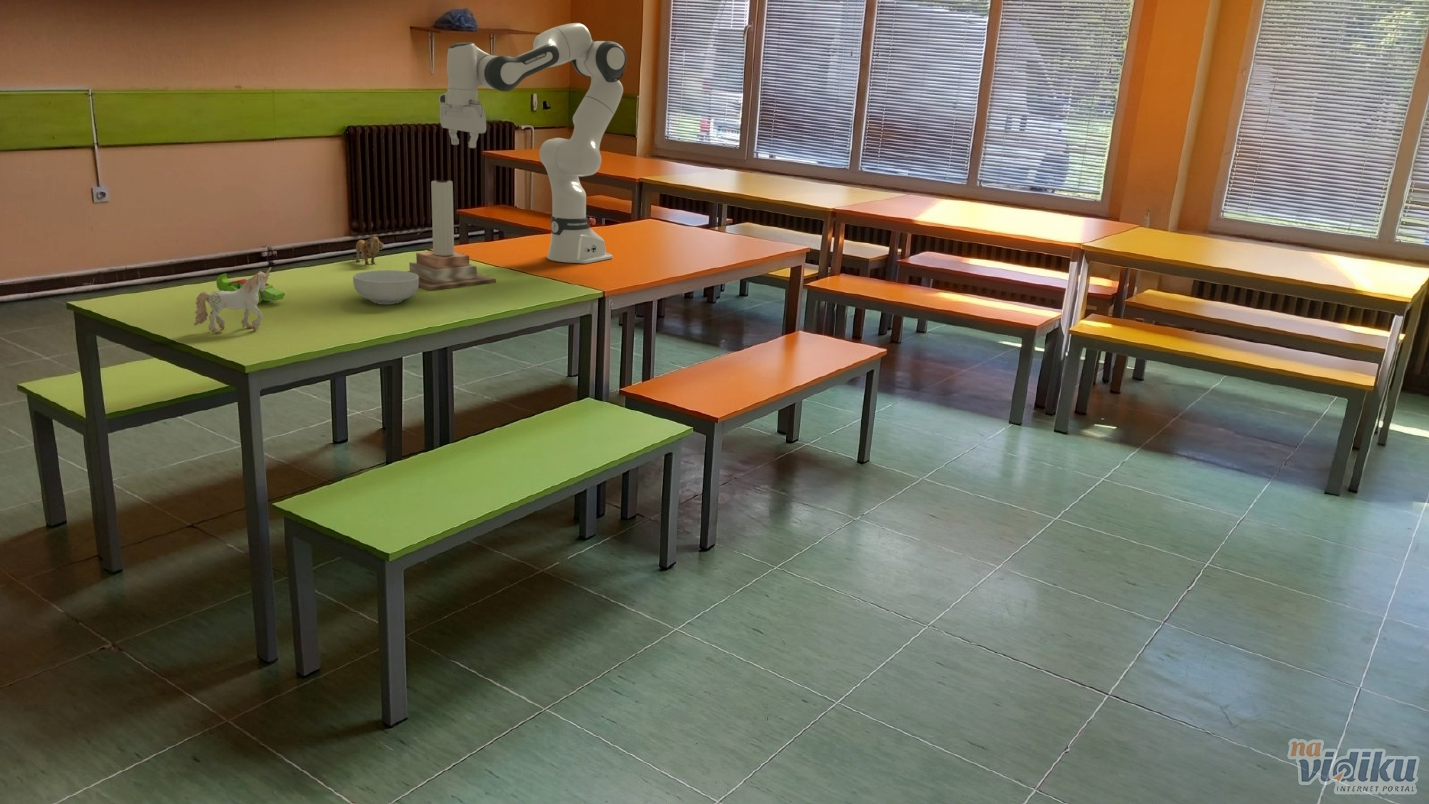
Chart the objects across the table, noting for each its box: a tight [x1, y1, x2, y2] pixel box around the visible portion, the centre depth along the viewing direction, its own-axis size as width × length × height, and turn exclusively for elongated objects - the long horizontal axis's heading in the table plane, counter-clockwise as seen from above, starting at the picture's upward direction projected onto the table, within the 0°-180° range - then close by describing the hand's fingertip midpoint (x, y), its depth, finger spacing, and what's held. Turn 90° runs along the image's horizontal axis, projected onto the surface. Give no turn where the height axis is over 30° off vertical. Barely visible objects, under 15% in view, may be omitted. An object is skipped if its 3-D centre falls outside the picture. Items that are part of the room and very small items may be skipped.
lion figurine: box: [353, 236, 385, 266], centre depth 326 cm, size 15×5×9 cm, turn 50°
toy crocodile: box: [216, 273, 286, 304], centre depth 275 cm, size 20×7×6 cm, turn 66°
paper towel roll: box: [430, 179, 455, 256], centre depth 306 cm, size 7×6×21 cm
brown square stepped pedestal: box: [406, 250, 497, 291], centre depth 311 cm, size 22×22×8 cm
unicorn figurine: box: [193, 266, 272, 335], centre depth 246 cm, size 7×20×13 cm, turn 137°
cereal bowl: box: [352, 269, 419, 305], centre depth 282 cm, size 17×17×7 cm
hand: (463, 146), depth 320 cm, fingers open, 8 cm apart
